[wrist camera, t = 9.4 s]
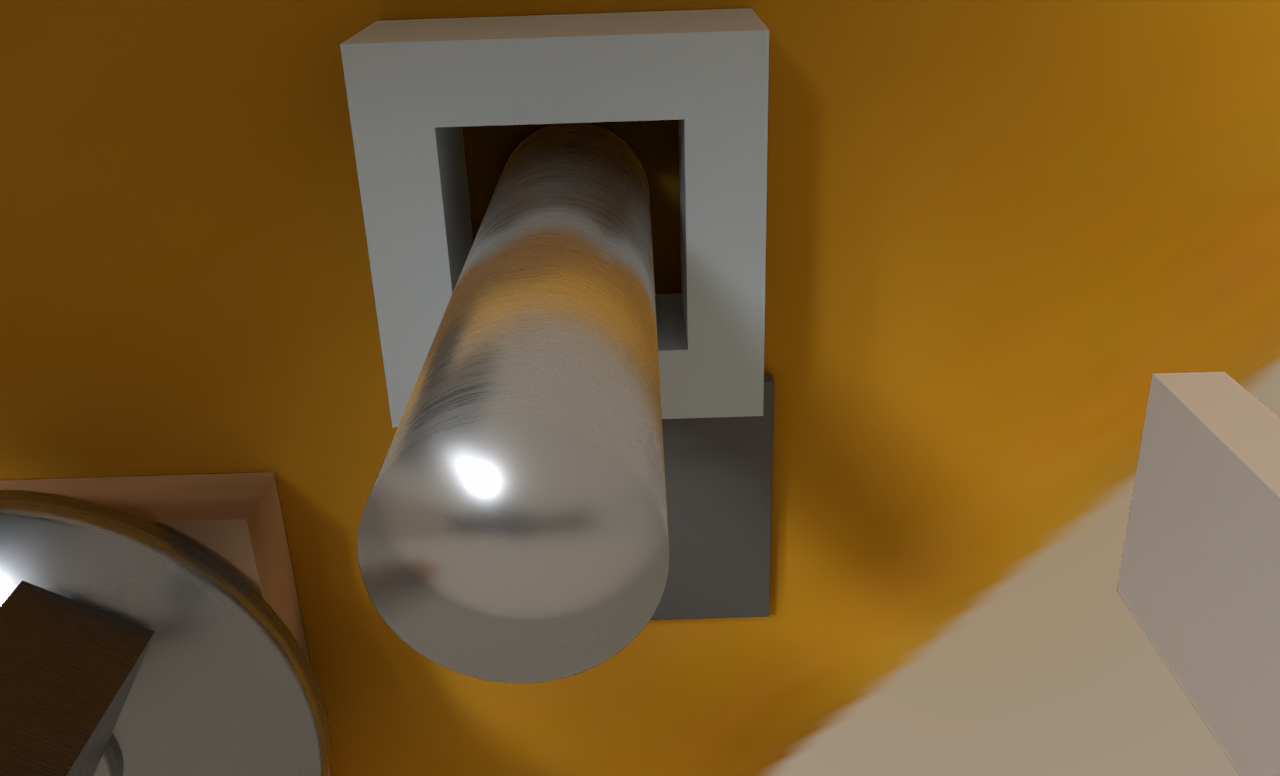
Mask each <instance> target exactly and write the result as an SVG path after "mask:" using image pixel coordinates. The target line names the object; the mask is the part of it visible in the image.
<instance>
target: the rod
mask: <svg viewBox="0 0 1280 776" xmlns="http://www.w3.org/2000/svg"><path fill="white" fill-rule="evenodd" d="M358 558H359V566H360V570H361V574H362V579H363V582H364V584H365V587H366V590H367V592H368V595H369V597H370V599H371V601H372V602H373V604H374V606H375V608H376V609H377V611H378V613H379V614H380V615H381V617H382V618H383V619H384V621H385V622H386V623H387V624H388V626H389V627H390V628H391V629H392V630H393V631H394V632H395V633H396V634H397V635H398V636H399V637H400V638H401V639H402V640H403V641H404V642H406V643H407V644H408V645H409V646H411V647H412V648H413V649H414V650H416V651H417V652H418V653H420V654H422V655H423V656H425V657H427V658H428V659H430V660H431V661H433V662H435V663H437V664H439V665H441V666H444V667H446V668H448V669H450V670H453V671H455V672H458V673H461V674H464V675H467V676H471V677H475V678H479V679H483V680H488V681H496V682H504V683H534V682H545V681H551V680H556V679H561V678H565V677H568V676H572V675H575V674H578V673H581V672H583V671H586V670H588V669H590V668H593V667H595V666H597V665H599V664H601V663H603V662H604V661H606V660H608V659H609V658H611V657H613V656H614V655H616V654H617V653H618V652H619V651H621V650H622V649H623V648H625V647H626V646H627V645H628V644H629V643H630V642H631V641H632V640H633V639H634V638H635V637H636V636H637V635H638V634H639V633H640V632H641V631H642V630H643V628H644V627H645V626H646V624H647V623H648V622H649V620H650V619H651V617H652V616H653V614H654V612H655V610H656V608H657V607H658V605H659V603H660V600H661V597H662V595H663V592H664V589H665V585H666V581H667V576H668V570H669V540H668V521H667V503H666V485H665V467H664V448H663V430H662V412H661V394H660V376H659V357H658V339H657V321H656V303H655V284H654V266H653V248H652V230H651V212H650V194H649V185H648V180H647V176H646V173H645V171H644V168H643V166H642V164H641V162H640V160H639V158H638V157H637V155H636V154H635V153H634V151H633V150H632V149H631V148H630V147H629V146H628V145H627V144H626V143H625V142H624V141H623V140H622V139H621V138H619V137H618V136H617V135H615V134H613V133H612V132H610V131H608V130H606V129H604V128H602V127H599V126H596V125H593V124H588V123H558V124H553V125H549V126H547V127H544V128H542V129H540V130H538V131H536V132H534V133H532V134H531V135H530V136H528V137H527V138H525V139H524V140H523V141H522V142H521V143H520V144H519V145H518V146H517V147H516V148H515V150H514V151H513V152H512V154H511V155H510V157H509V159H508V160H507V162H506V165H505V167H504V169H503V172H502V174H501V177H500V179H499V182H498V184H497V186H496V189H495V191H494V194H493V196H492V199H491V201H490V204H489V206H488V208H487V211H486V213H485V216H484V218H483V221H482V223H481V225H480V228H479V230H478V233H477V235H476V238H475V240H474V243H473V245H472V247H471V250H470V252H469V255H468V257H467V260H466V262H465V265H464V267H463V269H462V272H461V274H460V277H459V279H458V282H457V284H456V286H455V289H454V291H453V294H452V296H451V299H450V301H449V304H448V306H447V308H446V311H445V313H444V316H443V318H442V321H441V323H440V325H439V328H438V330H437V333H436V335H435V338H434V340H433V343H432V345H431V347H430V350H429V352H428V355H427V357H426V360H425V362H424V364H423V367H422V369H421V372H420V374H419V377H418V379H417V382H416V384H415V386H414V389H413V391H412V394H411V396H410V399H409V401H408V403H407V406H406V408H405V411H404V413H403V416H402V418H401V421H400V423H399V425H398V428H397V430H396V433H395V435H394V438H393V440H392V443H391V445H390V447H389V450H388V452H387V455H386V457H385V460H384V462H383V464H382V467H381V469H380V472H379V474H378V477H377V479H376V482H375V484H374V486H373V489H372V491H371V494H370V496H369V499H368V501H367V503H366V506H365V508H364V511H363V514H362V518H361V522H360V527H359V534H358Z"/></svg>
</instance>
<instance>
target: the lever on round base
mask: <svg viewBox="0 0 1280 776" xmlns="http://www.w3.org/2000/svg"><path fill="white" fill-rule="evenodd" d="M330 745H331V739H330V730H329V721H328V713H327V709H326V706H325V702H324V699H323V695H322V692H321V688H320V685H319V683H318V680H317V678H316V676H315V674H314V671H313V669H312V667H311V665H310V663H309V660H308V658H307V656H306V655H305V653H304V652H303V650H302V648H301V647H300V645H299V644H298V642H297V640H296V639H295V637H294V636H293V634H292V632H291V631H290V629H289V628H288V627H287V626H286V625H285V623H284V622H283V621H282V620H281V618H280V617H279V616H278V615H277V614H276V612H275V611H274V610H273V609H272V608H271V606H270V605H269V604H268V603H267V602H266V601H265V600H264V599H263V598H262V597H261V596H260V595H259V594H258V593H257V592H256V591H255V590H254V589H252V588H251V587H250V586H249V585H248V584H247V583H246V582H245V581H244V580H243V579H242V578H241V577H239V576H238V575H237V574H236V573H234V572H233V571H232V570H230V569H229V568H228V567H226V566H225V565H224V564H222V563H221V562H220V561H218V560H217V559H216V558H214V557H213V556H212V555H210V554H209V553H207V552H205V551H204V550H202V549H200V548H199V547H197V546H195V545H194V544H192V543H190V542H189V541H187V540H185V539H184V538H182V537H180V536H179V535H177V534H175V533H173V532H170V531H168V530H166V529H164V528H162V527H160V526H158V525H155V524H153V523H151V522H149V521H147V520H145V519H143V518H140V517H137V516H134V515H132V514H129V513H126V512H123V511H120V510H117V509H114V508H111V507H109V506H106V505H103V504H99V503H94V502H90V501H86V500H82V499H77V498H73V497H69V496H65V495H58V494H50V493H43V492H35V491H27V490H0V776H327V775H328V770H329V763H330Z"/></svg>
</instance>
